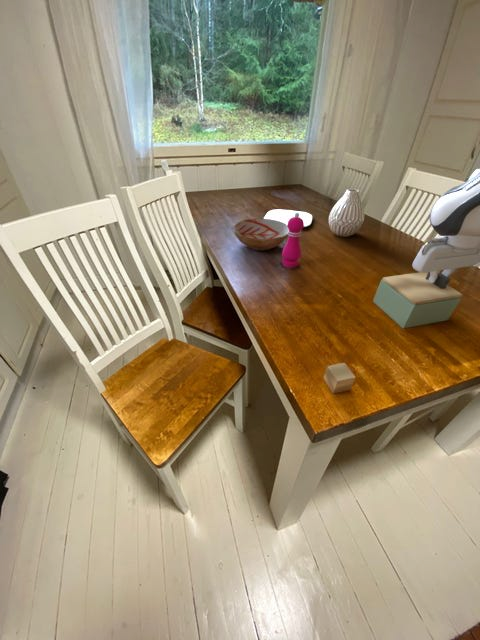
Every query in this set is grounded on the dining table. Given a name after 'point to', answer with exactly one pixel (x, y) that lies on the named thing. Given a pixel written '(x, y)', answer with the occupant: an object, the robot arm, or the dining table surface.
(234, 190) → the dining table surface
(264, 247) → the bowl
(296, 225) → the pepper mill
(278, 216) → the plate
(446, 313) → the box
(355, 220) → the vase
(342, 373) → the block
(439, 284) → the lid
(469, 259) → the robot arm
